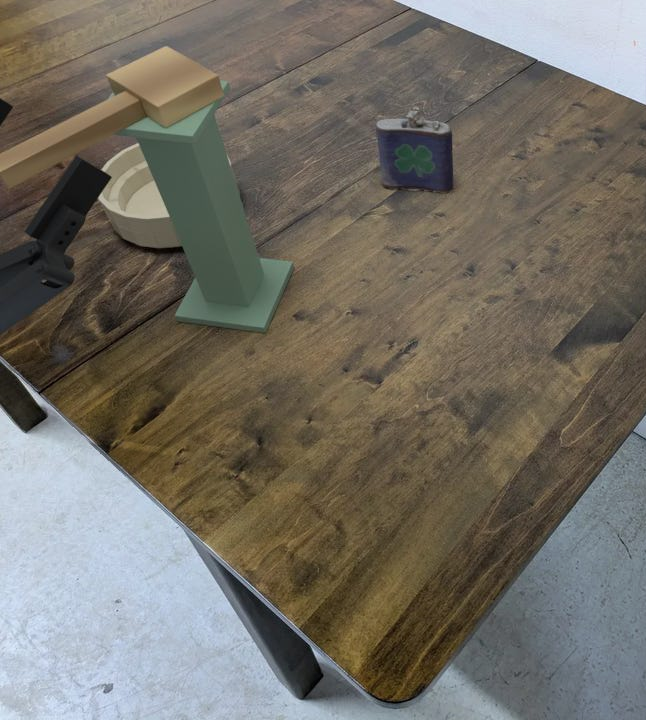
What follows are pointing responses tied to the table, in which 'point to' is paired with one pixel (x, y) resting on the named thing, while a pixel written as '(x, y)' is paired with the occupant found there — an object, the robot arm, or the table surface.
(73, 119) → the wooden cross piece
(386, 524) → the table surface
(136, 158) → the bowl
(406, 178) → the flask
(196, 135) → the pedestal stand
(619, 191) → the table surface
